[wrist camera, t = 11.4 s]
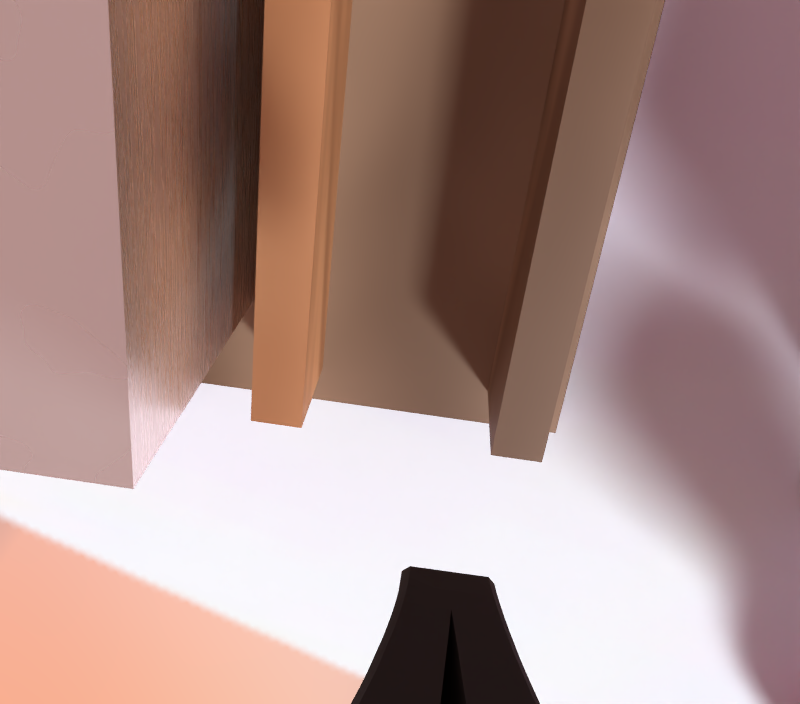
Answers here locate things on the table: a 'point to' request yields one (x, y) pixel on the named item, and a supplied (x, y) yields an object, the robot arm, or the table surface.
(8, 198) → the wooden block
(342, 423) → the table surface
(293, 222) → the rack
